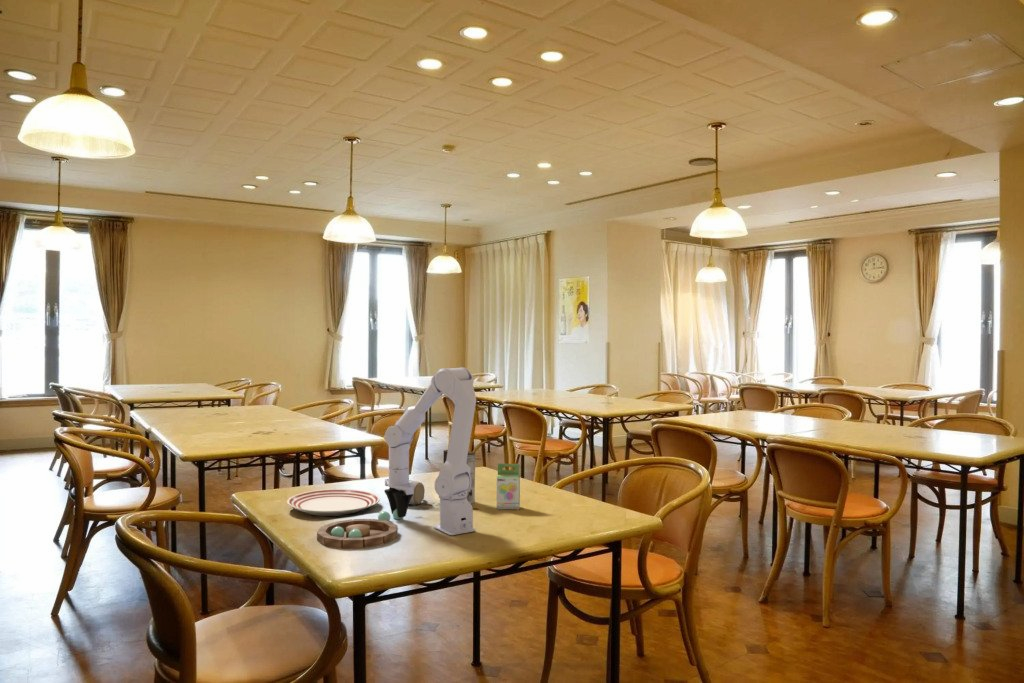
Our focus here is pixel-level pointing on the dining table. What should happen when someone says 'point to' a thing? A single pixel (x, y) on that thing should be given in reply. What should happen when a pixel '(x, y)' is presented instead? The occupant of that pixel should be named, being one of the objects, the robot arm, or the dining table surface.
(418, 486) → the ceramic mug
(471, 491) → the coffee box
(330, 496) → the dinner plate
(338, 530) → the seated bead
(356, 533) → the seated bead
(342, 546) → the ring tray
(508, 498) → the ink box
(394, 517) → the bead
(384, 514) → the bead
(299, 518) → the dining table surface
